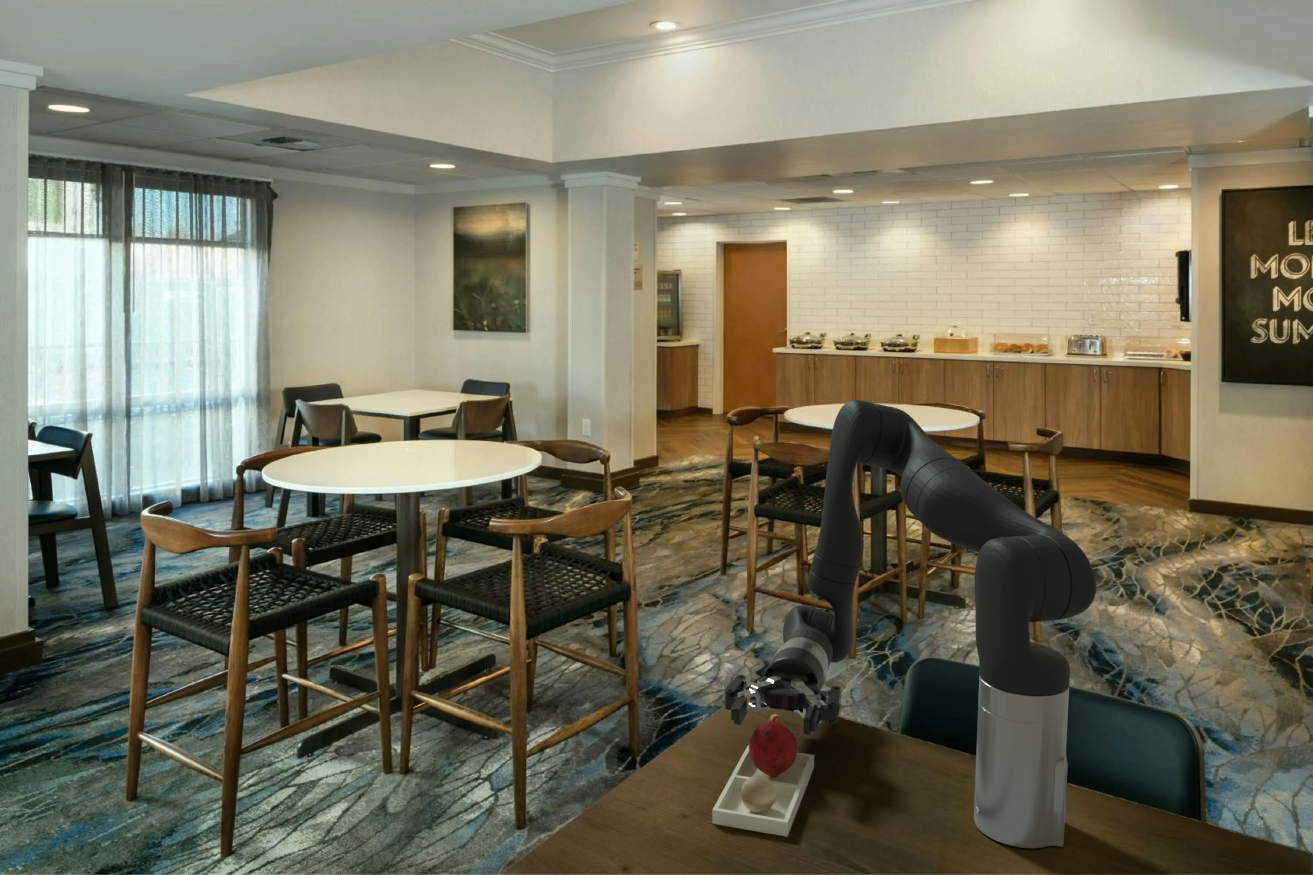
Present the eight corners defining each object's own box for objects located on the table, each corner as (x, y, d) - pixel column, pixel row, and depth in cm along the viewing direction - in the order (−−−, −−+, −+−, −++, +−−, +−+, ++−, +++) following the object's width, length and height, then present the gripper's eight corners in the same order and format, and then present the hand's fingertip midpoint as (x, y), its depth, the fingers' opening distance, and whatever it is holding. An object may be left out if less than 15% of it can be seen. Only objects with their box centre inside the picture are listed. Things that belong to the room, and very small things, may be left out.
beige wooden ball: (779, 804, 111) (779, 771, 110) (771, 822, 107) (771, 788, 106) (745, 798, 112) (745, 766, 111) (737, 816, 108) (736, 783, 108)
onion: (780, 793, 113) (782, 730, 112) (739, 778, 116) (740, 717, 115) (804, 774, 118) (806, 713, 116) (764, 760, 121) (765, 700, 120)
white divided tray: (813, 772, 120) (814, 754, 119) (787, 842, 104) (787, 822, 104) (747, 762, 122) (747, 745, 122) (712, 829, 107) (712, 809, 107)
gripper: (746, 640, 132) (714, 685, 116) (850, 652, 127) (831, 699, 112) (746, 692, 133) (714, 743, 118) (849, 705, 128) (830, 760, 113)
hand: (771, 722), depth 115 cm, fingers open, 8 cm apart
